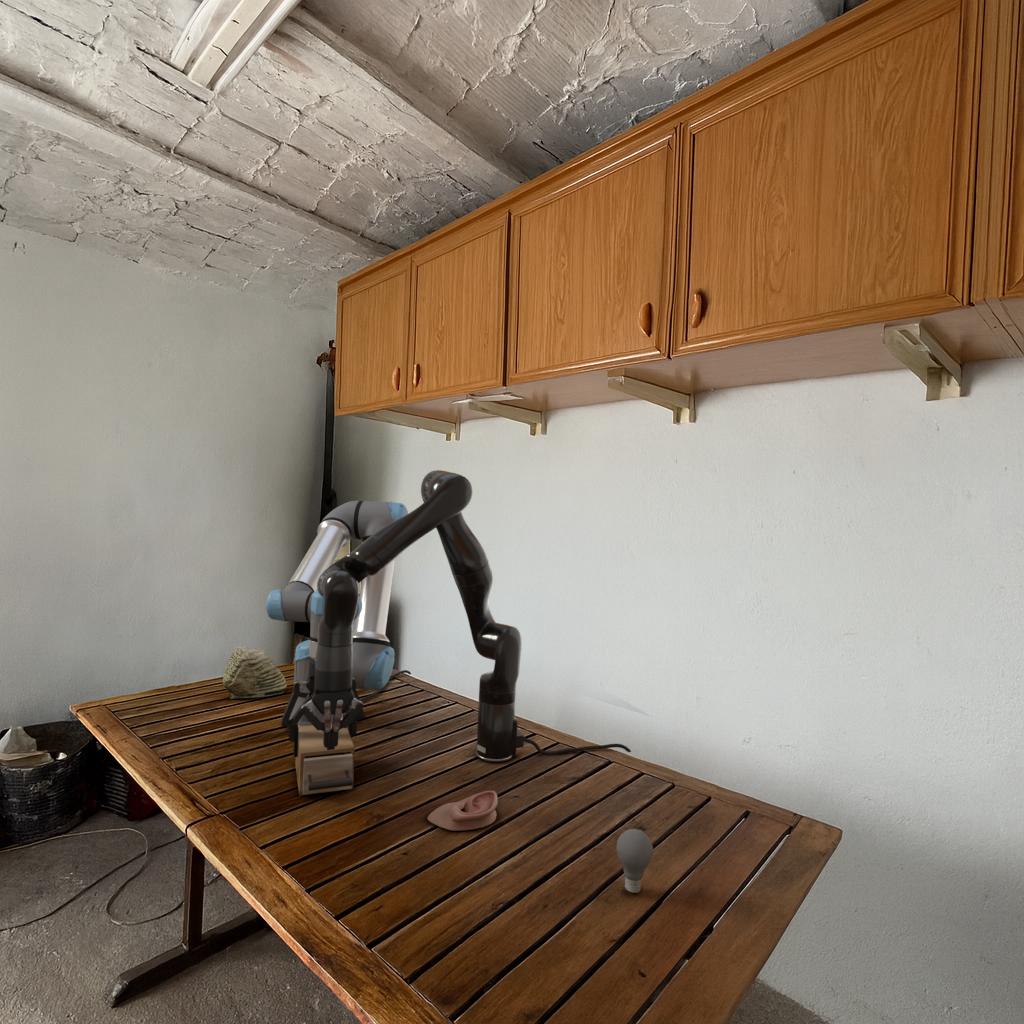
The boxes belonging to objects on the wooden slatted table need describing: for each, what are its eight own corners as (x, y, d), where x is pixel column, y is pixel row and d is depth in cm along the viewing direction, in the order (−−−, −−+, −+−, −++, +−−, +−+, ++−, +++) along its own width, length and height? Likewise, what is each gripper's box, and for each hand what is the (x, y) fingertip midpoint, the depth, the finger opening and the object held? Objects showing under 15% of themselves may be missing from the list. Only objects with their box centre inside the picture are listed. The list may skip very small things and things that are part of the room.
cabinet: (352, 788, 138) (354, 747, 138) (299, 795, 134) (300, 753, 134) (343, 759, 153) (345, 722, 153) (295, 764, 149) (296, 726, 149)
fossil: (218, 695, 195) (220, 647, 195) (278, 685, 208) (279, 640, 207) (228, 703, 189) (230, 653, 188) (289, 692, 201) (290, 645, 201)
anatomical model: (422, 806, 123) (441, 781, 134) (422, 826, 123) (440, 799, 134) (489, 816, 120) (502, 789, 132) (488, 836, 121) (501, 808, 132)
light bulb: (610, 879, 108) (613, 822, 108) (644, 879, 109) (647, 822, 109) (619, 902, 102) (622, 840, 102) (655, 901, 103) (658, 840, 103)
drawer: (355, 801, 131) (356, 766, 131) (304, 807, 127) (306, 772, 127) (342, 760, 150) (344, 730, 150) (298, 765, 146) (300, 734, 146)
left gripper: (271, 664, 138) (268, 764, 139) (380, 659, 147) (376, 752, 147) (271, 656, 145) (267, 751, 146) (374, 651, 154) (371, 740, 154)
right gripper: (301, 671, 125) (297, 759, 125) (369, 668, 130) (365, 752, 130) (299, 662, 132) (295, 744, 132) (363, 659, 137) (360, 738, 137)
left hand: (322, 751), depth 146 cm, fingers closed on cabinet, 11 cm apart
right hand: (330, 748), depth 131 cm, fingers closed
